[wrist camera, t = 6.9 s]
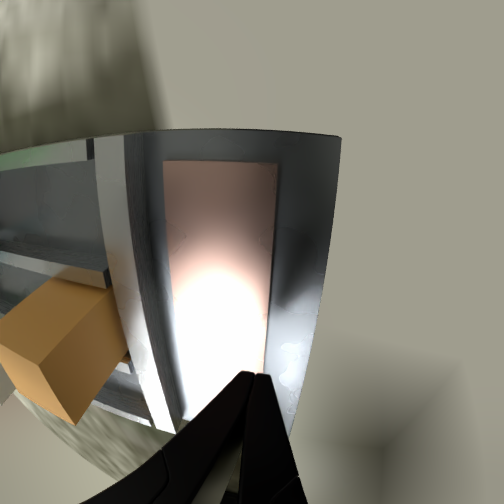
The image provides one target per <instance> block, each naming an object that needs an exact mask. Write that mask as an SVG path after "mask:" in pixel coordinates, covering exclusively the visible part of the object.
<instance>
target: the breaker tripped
mask: <svg viewBox="0 0 504 504" xmlns="http://www.w3.org/2000/svg"><path fill="white" fill-rule="evenodd" d="M128 350H129V348H128V345H127V341H126V338H125V334H124V330H123V327H122V323H121V319H120V315H119V311H118V307H117V303H116V299H115V294H114V290H113V285H110V286H109V287H108V288H107V289H105V288H100V287H96V286H91V285H87V284H82V283H78V282H74V281H70V280H66V279H61V278H57V277H52V278H50V279H49V280H48V281H46V282H45V283H44V284H43V285H41V286H40V287H39V288H38V289H36V290H35V291H34V292H33V293H31V294H30V295H29V296H28V297H26V298H25V299H24V300H23V301H21V302H20V303H19V304H18V305H17V306H15V307H14V308H13V309H12V310H11V311H10V312H8V313H7V314H6V315H5V316H4V317H3V318H1V319H0V363H1V364H2V366H3V368H4V370H5V371H6V373H7V374H8V376H9V378H10V379H11V381H12V382H13V384H14V386H15V387H16V389H17V390H18V392H19V393H21V394H22V395H24V396H25V397H27V398H28V399H30V400H31V401H33V402H34V403H36V404H38V405H39V406H41V407H42V408H44V409H46V410H47V411H49V412H51V413H53V414H54V415H56V416H58V417H60V418H61V419H63V420H65V421H67V422H69V423H71V424H73V425H75V426H76V425H77V423H78V422H79V420H80V419H81V417H82V416H83V414H84V413H85V411H86V410H87V408H88V407H89V405H90V404H91V402H92V401H93V399H94V398H95V397H96V395H97V394H98V392H99V391H100V389H101V388H102V386H103V385H104V384H105V382H106V381H107V379H108V378H109V376H110V375H111V374H112V372H113V371H114V369H115V368H116V366H117V365H118V364H119V362H120V361H121V359H122V358H123V357H124V355H125V354H126V353H127V351H128Z"/></svg>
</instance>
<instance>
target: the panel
mask: <svg viewBox="0 0 504 504" xmlns="http://www.w3.org/2000/svg"><path fill="white" fill-rule="evenodd" d="M341 140H342V138H341V137H339V136H334V135H324V134H315V133H305V132H293V131H278V130H260V129H221V128H219V129H218V128H216V129H215V128H211V129H210V128H209V129H170V130H152V131H138V132H126V133H116V134H107V135H98V136H90V137H83V138H76V139H70V140H64V141H58V142H52V143H47V144H41V145H36V146H31V147H27V148H22V149H18V150H13V151H9V152H5V153H1V154H0V319H1V318H3V317H4V316H5V315H6V314H7V313H8V312H10V311H11V310H12V309H13V308H14V307H15V306H17V305H18V304H19V303H20V302H21V301H23V300H24V299H25V298H26V297H28V296H29V295H30V294H31V293H33V292H34V291H35V290H36V289H38V288H39V287H40V286H41V285H43V284H44V283H45V282H46V281H48V280H49V279H50V278H52V277H57V278H61V279H66V280H70V281H74V282H78V283H82V284H87V285H91V286H96V287H100V288H105V289H107V288H108V287H109V286H110V285H113V290H114V294H115V299H116V303H117V307H118V311H119V315H120V319H121V323H122V327H123V330H124V334H125V338H126V341H127V345H128V348H129V350H128V351H127V353H126V354H125V355H124V357H123V358H122V359H121V361H120V362H119V364H118V365H117V366H116V368H115V369H114V371H113V372H112V374H111V375H110V376H109V378H108V379H107V381H106V382H105V384H104V385H103V386H102V388H101V389H100V391H99V392H98V394H97V395H96V397H95V398H94V399H93V401H92V402H91V404H93V405H95V406H98V407H100V408H102V409H105V410H107V411H110V412H112V413H115V414H117V415H120V416H122V417H125V418H128V419H130V420H133V421H136V422H139V423H142V424H145V425H148V426H152V424H153V422H154V423H155V425H156V428H157V429H160V430H163V431H167V432H170V433H174V434H176V433H177V430H178V428H179V426H180V423H181V421H182V419H186V420H189V421H191V420H192V419H193V418H194V417H195V416H196V415H197V414H198V413H199V412H200V411H201V410H202V409H203V408H204V407H205V406H206V405H207V404H208V403H209V402H210V401H211V400H212V399H213V398H214V397H215V396H216V395H217V394H218V393H219V392H220V391H221V390H222V389H223V388H224V387H225V386H226V385H227V384H228V383H229V382H230V381H231V380H232V379H233V378H234V377H235V376H236V375H237V374H238V373H239V372H240V371H241V370H245V371H251V372H254V373H255V375H256V373H265V374H270V375H271V377H272V381H273V385H274V388H275V392H276V396H277V399H278V403H279V406H280V410H281V414H282V417H283V421H284V424H285V428H286V432H287V435H288V438H289V436H290V432H291V429H292V425H293V421H294V418H295V414H296V410H297V406H298V402H299V398H300V394H301V390H302V386H303V382H304V378H305V373H306V369H307V364H308V360H309V356H310V351H311V347H312V342H313V337H314V332H315V327H316V322H317V316H318V312H319V306H320V300H321V295H322V290H323V284H324V278H325V271H326V266H327V259H328V253H329V246H330V239H331V232H332V225H333V217H334V209H335V201H336V193H337V182H338V174H339V163H340V152H341Z"/></svg>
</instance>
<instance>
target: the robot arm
mask: <svg viewBox="0 0 504 504" xmlns="http://www.w3.org/2000/svg"><path fill="white" fill-rule="evenodd" d="M241 449H242V456H241V467H240V478H239V490H238V495H235V494H230V493H225V490H226V487H227V485H228V482H229V480H230V477H231V475H232V472H233V470H234V467H235V465H236V462H237V459H238V457H239V454H240V451H241ZM298 476H299V474H298V470H297V467H296V463H295V460H294V457H293V453H292V450H291V446H290V442H289V439H288V435H287V432H286V428H285V424H284V421H283V417H282V414H281V410H280V406H279V403H278V399H277V396H276V392H275V388H274V385H273V381H272V377H271V375H270V374H265V373H256V375H255V373H254V372H251V371H245V370H241V371H240V372H239V373H238V374H237V375H236V376H235V377H234V378H233V379H232V380H231V381H230V382H229V383H228V384H227V385H226V386H225V387H224V388H223V389H222V390H221V391H220V392H219V393H218V394H217V395H216V396H215V397H214V398H213V399H212V400H211V401H210V402H209V403H208V404H207V405H206V406H205V407H204V408H203V409H202V410H201V411H200V412H199V413H198V414H197V415H196V416H195V417H194V418H193V419H192V420H191V421H190V422H189V423H188V424H187V425H186V426H185V427H184V428H183V429H181V430H180V431H179V432H178V433H177V434H176V435H175V436H174V437H173V438H172V439H171V440H170V441H169V442H168V443H166V444H165V445H164V446H163V447H162V450H159V451H157V452H156V453H155V454H154V455H153V456H152V457H151V458H150V459H148V460H147V461H146V462H145V463H144V464H142V465H141V466H140V467H139V468H137V469H136V470H135V471H133V472H132V473H130V474H129V475H127V476H126V477H124V478H123V479H121V480H120V481H118V482H117V483H115V484H113V485H112V486H110V487H109V488H107V489H105V490H103V491H102V492H100V493H98V494H97V495H95V496H93V497H91V498H90V499H88V500H86V501H84V502H82V503H79V504H308V502H307V499H306V496H305V493H304V491H303V487H302V484H301V481H300V478H299V477H298Z"/></svg>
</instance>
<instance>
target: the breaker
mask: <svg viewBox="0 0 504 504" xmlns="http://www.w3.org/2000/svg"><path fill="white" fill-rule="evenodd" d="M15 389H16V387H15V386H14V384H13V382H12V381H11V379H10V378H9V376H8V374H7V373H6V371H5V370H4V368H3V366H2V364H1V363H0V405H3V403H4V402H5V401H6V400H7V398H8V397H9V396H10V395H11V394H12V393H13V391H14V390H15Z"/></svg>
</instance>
